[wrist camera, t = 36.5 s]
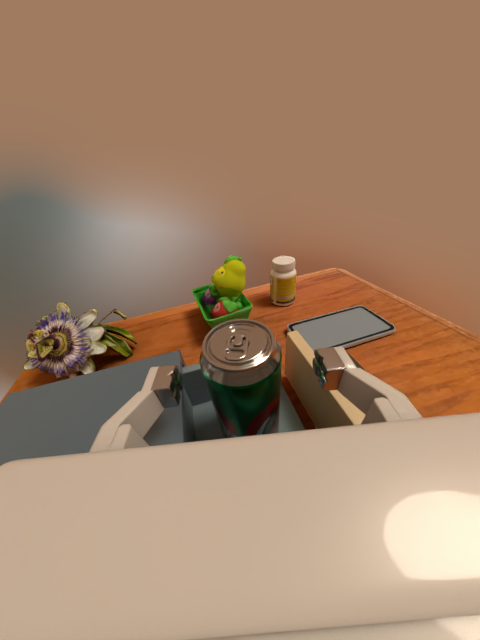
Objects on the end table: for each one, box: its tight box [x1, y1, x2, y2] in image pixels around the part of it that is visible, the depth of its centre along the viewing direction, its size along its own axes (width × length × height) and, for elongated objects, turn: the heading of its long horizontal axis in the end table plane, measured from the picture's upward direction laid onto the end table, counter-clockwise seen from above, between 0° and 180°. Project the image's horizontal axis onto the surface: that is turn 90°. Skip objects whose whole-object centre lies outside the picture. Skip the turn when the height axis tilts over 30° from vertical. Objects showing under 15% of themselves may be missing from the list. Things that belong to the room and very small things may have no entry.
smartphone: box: [287, 306, 396, 351], centre depth 31 cm, size 7×1×15 cm
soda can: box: [200, 319, 282, 438], centre depth 15 cm, size 5×5×12 cm
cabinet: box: [0, 350, 186, 466], centre depth 16 cm, size 15×13×9 cm
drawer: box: [182, 330, 365, 442], centre depth 18 cm, size 18×12×7 cm, turn 105°
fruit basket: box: [192, 255, 252, 329], centre depth 34 cm, size 11×9×11 cm
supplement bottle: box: [270, 256, 296, 306], centre depth 38 cm, size 5×5×8 cm
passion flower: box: [23, 302, 137, 379], centre depth 30 cm, size 11×11×12 cm
